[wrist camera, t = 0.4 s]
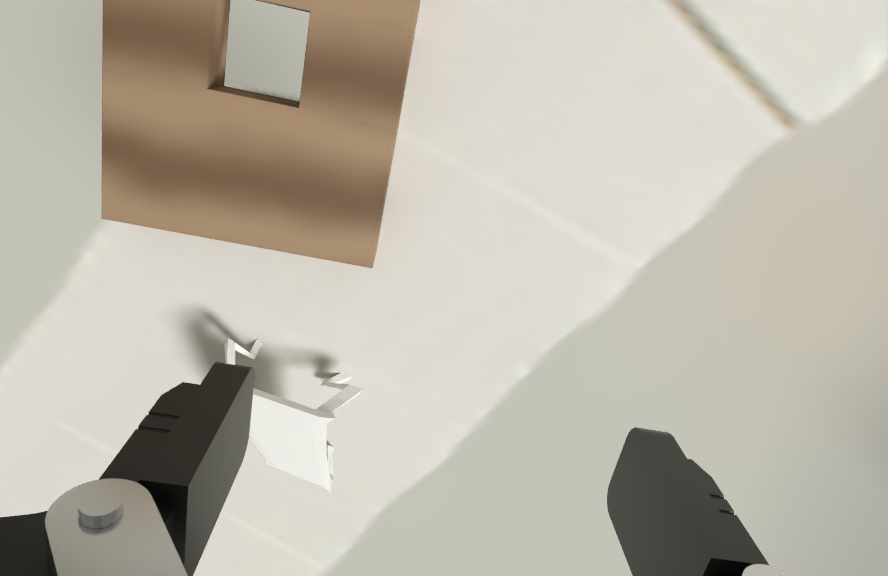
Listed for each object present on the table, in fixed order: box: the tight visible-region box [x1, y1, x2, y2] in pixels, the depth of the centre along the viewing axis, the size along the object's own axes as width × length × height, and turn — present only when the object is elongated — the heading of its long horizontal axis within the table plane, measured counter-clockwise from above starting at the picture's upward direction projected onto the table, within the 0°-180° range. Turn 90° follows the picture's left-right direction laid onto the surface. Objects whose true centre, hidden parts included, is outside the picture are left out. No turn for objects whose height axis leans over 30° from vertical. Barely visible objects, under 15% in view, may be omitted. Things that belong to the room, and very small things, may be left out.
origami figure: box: [224, 338, 363, 492], centre depth 41 cm, size 12×8×5 cm
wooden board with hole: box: [102, 0, 420, 268], centre depth 34 cm, size 22×16×3 cm
